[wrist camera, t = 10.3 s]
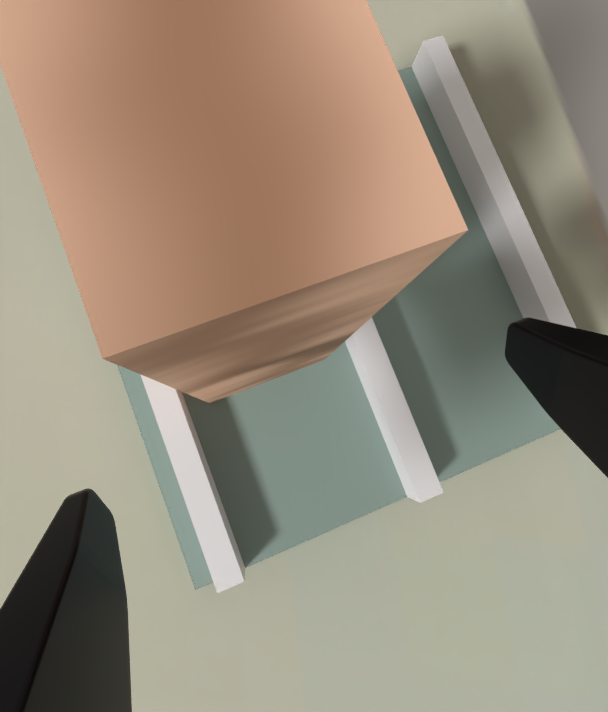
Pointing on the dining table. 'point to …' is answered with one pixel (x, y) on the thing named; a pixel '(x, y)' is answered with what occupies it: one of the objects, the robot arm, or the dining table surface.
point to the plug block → (225, 177)
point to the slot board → (369, 379)
